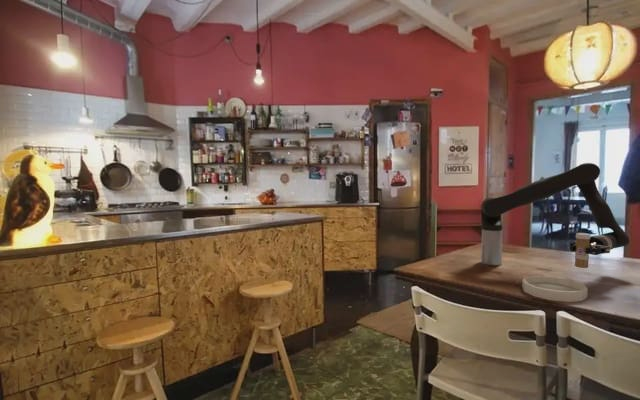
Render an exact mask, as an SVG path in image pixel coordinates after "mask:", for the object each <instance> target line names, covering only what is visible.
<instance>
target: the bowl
mask: <svg viewBox="0 0 640 400" xmlns="http://www.w3.org/2000/svg"><path fill="white" fill-rule="evenodd" d="M521 282H522V285H521V286H522V290H523V292H524V293H525V294H528V295H531V296H533V297H535V298H536V297H537V298H540V299H543V300H544V299H545V300H548V301H555V302H565V303H573V302H583V301H584V300H586V299H587V298H588V289H589V288H588V287H587V285H585V284H584V283H582V282H579V281H576V280H573V279H571V278H570V279H569V278H564V277H559V276H551V275H531V276H529V275H528V276H526V277H524V278H522V281H521Z"/></svg>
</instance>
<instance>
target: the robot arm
mask: <svg viewBox="0 0 640 400" xmlns="http://www.w3.org/2000/svg"><path fill="white" fill-rule="evenodd" d="M600 174H601V168H600V167H599V166H598V165H597V164H595V163H593V162H592V163H591V162H584V163H581V164H579V165H577V166H575V167H573V168H571V169H568V170H567V171H564V172H561V173H558V174H554V175H552V176H548V177H545V178H542V179H538V180H536V181H533V182H529V183H528V184H525V185H523V186H521V187H519V188H518V189H516V190H515V191H512V192H511V193H508V194H505V195H502V196H497V197H494V196H492V197H491V196H490V197H489V196H488V197H487V198H485V199H483V200H482V202H481V207H480V215H481V216H480V218H481V220H480V221H481V222H480V223H481V243H480V244H481V249H480V250H481V254H480V257H481V258H480V259H481V260H480V261H481V264H482V265H487V266H501V265H502V263H503V259H502V258H503V223H502V215H503V214H504V213H507V212H510V211H511V210H514V209H517V208H520V207H523V206H527V205H531V204H533V203H537V202H540V201H542V200H546V199H548V198H551V197H553V196H555V195H557V194H559V193H562V192H563V191H565V190H567V189H569V188H571V187H577V188H578V190H579V191H580V192H581V194H582V196H583V198H584V200H585V202H586V203H587V206H588V208H589V210H590V212H591V215H592V217H593V219H594V222H595V224H596V226H597V228H599V229H610V230H611V231H610V232H606V233H603V234H596V235H592V236H590V240H589V247H588V248H586V251H585V253H586V254H589V255H594V256H598V255H602V254H603V255H604V254H610V253H611V250H613V249H617V248H623V247H627V246H628V245H629V244H630V242H631V241H630V237H629V235H628V234H627V233H626V231H625V230H624V229H623V228H622V227H621V226H620V224H619V223H618V222H617V221H616V218H615V216H614V214H613V212H612V209H611V208H610V205H609V204H608V203H607V201H606V200H605V198H604V197H603V196H602V195H601V193H600V191H599V189H598V188H597V184H596V180H597V179H598V178H599V177H600ZM569 250H570V252H575V250H576V241H574V240H572V241H570V242H569Z"/></svg>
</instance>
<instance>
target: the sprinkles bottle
mask: <svg viewBox="0 0 640 400" xmlns="http://www.w3.org/2000/svg"><path fill="white" fill-rule="evenodd" d="M590 237H591V234H590V233H586V232H577V233H575V239H576V240H575V242H576V250H575V251H574V252H575V254H574V255H575V256H574V260H575V261H574V267H577V268H579V269H588V268H589V259H590V254H586V253H585V251H586V248H588V247H589V240H590Z"/></svg>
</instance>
